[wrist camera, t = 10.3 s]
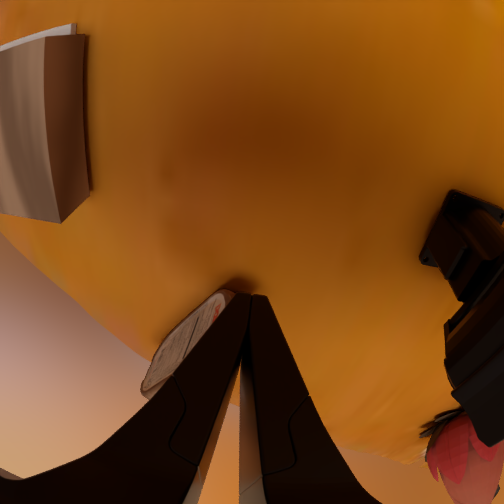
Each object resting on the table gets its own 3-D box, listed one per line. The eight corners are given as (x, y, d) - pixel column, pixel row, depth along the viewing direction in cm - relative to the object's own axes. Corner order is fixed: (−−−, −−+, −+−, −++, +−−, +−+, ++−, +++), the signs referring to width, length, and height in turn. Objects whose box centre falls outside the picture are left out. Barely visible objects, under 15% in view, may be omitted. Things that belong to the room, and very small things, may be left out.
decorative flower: (395, 435, 46) (400, 566, 22) (492, 377, 33) (521, 537, 9) (446, 437, 51) (456, 540, 27) (523, 389, 38) (547, 504, 14)
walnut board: (45, 36, 10) (-35, 66, 9) (61, 223, 17) (-14, 210, 17) (84, 34, 13) (2, 56, 13) (90, 195, 20) (14, 187, 20)
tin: (176, 353, 32) (157, 419, 25) (152, 340, 31) (129, 406, 24) (264, 285, 24) (254, 376, 18) (233, 264, 23) (213, 355, 17)
